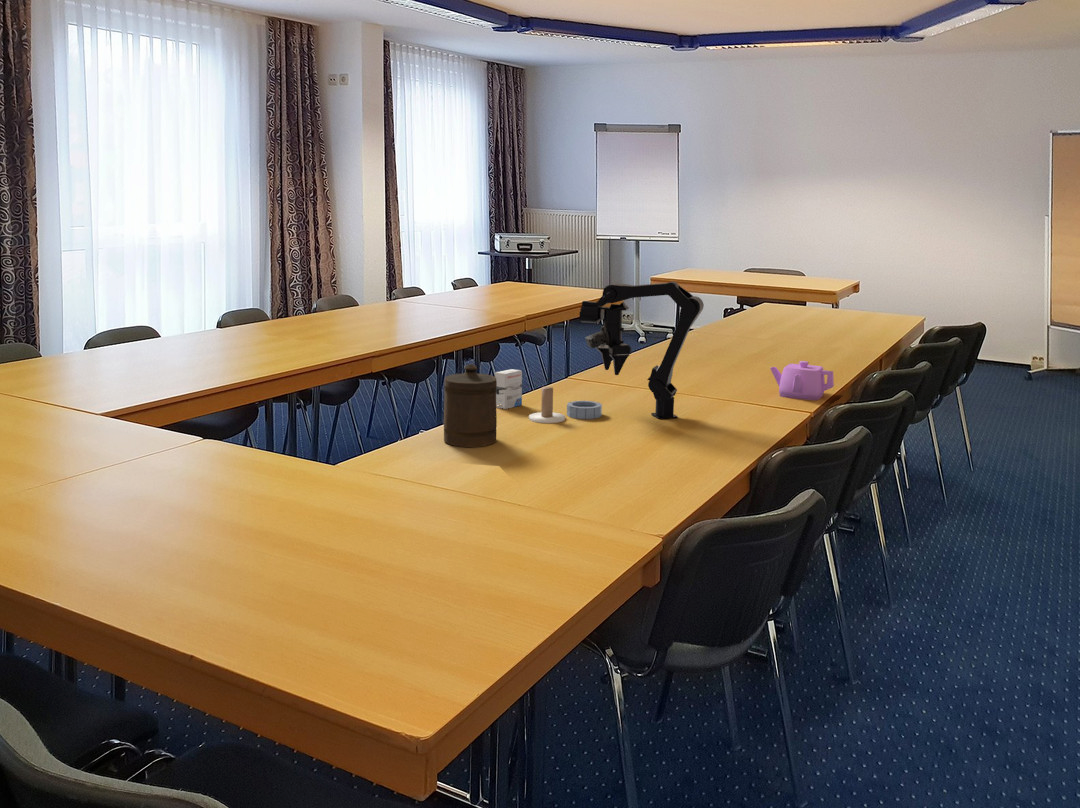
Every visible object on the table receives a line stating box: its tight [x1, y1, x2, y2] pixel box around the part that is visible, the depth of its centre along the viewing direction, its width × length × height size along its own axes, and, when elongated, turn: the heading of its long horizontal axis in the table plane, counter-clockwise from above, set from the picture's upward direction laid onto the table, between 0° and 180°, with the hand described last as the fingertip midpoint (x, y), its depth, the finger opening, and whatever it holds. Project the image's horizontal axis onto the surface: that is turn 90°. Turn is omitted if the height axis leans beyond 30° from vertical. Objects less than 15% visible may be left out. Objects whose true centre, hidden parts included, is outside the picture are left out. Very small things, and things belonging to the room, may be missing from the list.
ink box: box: [494, 368, 523, 410], centre depth 312 cm, size 8×5×12 cm, turn 141°
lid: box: [528, 386, 566, 424], centre depth 296 cm, size 11×11×10 cm
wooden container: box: [443, 363, 498, 448], centre depth 268 cm, size 15×15×22 cm
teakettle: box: [769, 360, 835, 401], centre depth 335 cm, size 17×17×12 cm
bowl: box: [566, 400, 603, 420], centre depth 302 cm, size 11×11×4 cm
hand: (611, 372), depth 305 cm, fingers open, 9 cm apart
